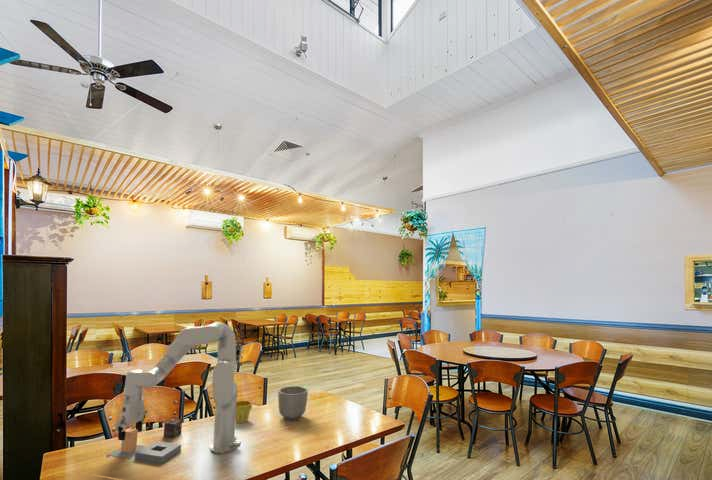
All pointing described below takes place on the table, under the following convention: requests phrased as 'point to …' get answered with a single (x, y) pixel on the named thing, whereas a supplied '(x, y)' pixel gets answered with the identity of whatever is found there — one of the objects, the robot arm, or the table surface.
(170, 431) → the box
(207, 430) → the table surface
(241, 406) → the plant pot
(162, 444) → the socket block
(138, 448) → the mat
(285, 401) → the planter
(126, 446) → the plug
